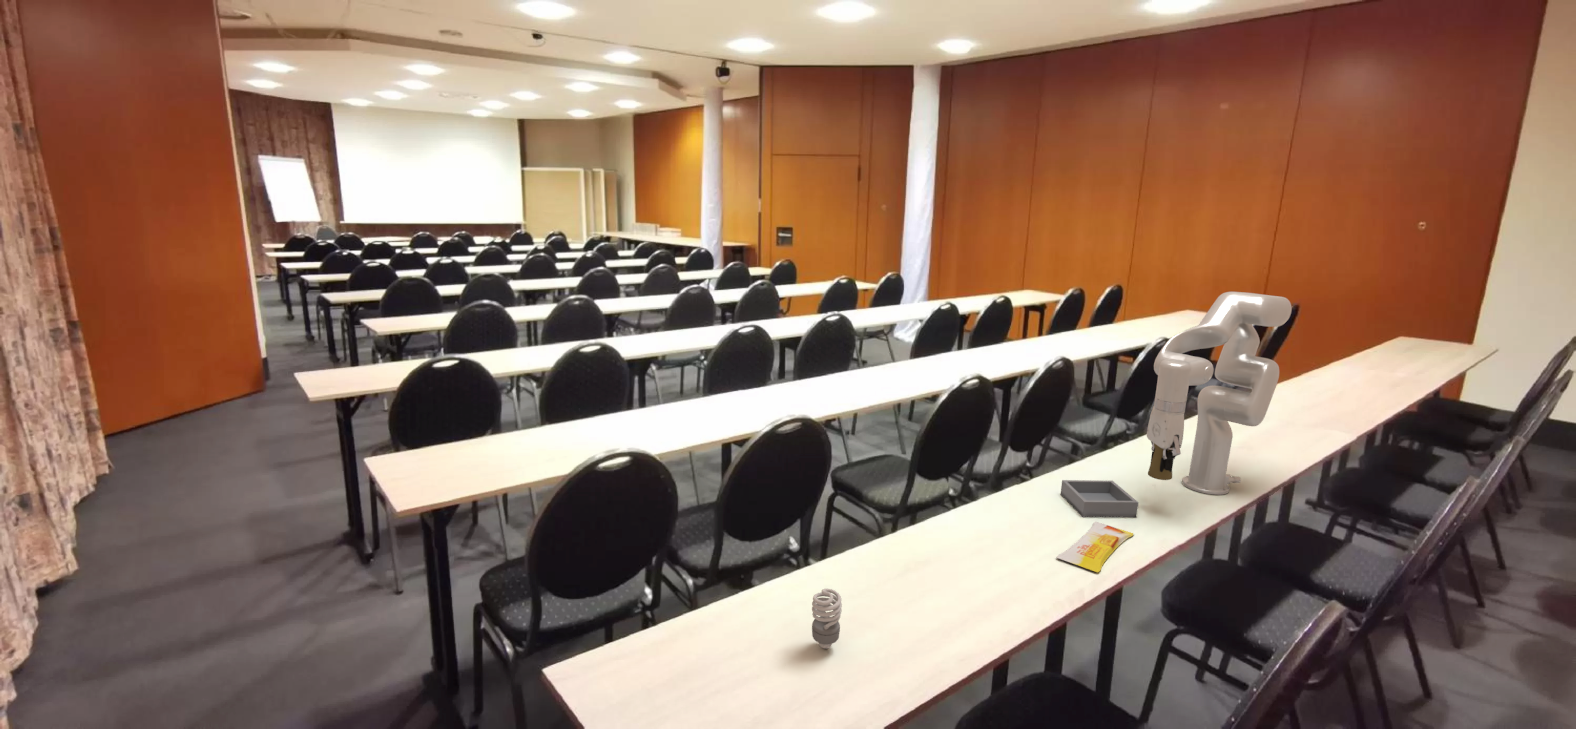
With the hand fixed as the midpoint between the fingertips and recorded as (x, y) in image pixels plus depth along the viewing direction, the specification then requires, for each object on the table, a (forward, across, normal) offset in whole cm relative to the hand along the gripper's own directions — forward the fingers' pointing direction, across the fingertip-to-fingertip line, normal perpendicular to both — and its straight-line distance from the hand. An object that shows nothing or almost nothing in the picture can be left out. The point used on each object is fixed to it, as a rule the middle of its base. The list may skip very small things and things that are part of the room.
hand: (1160, 467), depth 197 cm
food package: (+13, +21, -26) cm, 36 cm away
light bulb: (+9, +62, -98) cm, 116 cm away
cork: (+3, 0, 0) cm, 3 cm away
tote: (+13, -3, -15) cm, 20 cm away
